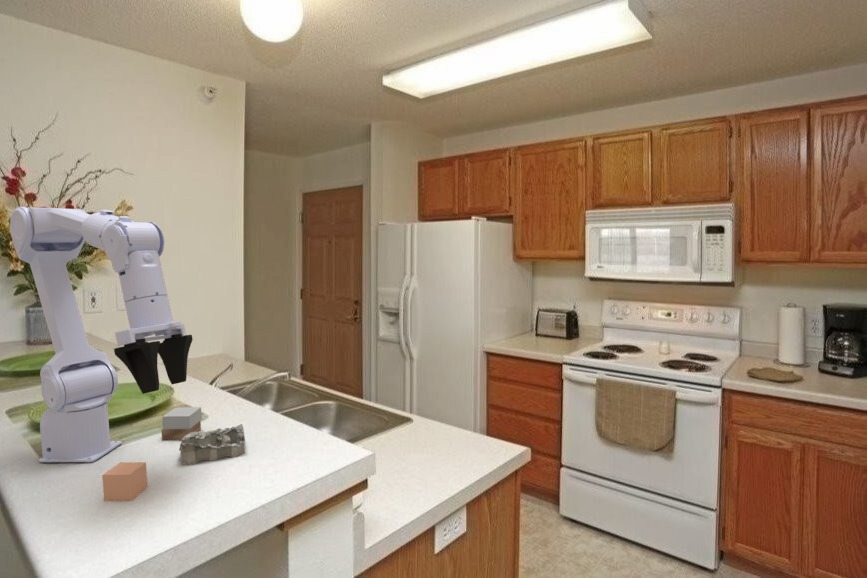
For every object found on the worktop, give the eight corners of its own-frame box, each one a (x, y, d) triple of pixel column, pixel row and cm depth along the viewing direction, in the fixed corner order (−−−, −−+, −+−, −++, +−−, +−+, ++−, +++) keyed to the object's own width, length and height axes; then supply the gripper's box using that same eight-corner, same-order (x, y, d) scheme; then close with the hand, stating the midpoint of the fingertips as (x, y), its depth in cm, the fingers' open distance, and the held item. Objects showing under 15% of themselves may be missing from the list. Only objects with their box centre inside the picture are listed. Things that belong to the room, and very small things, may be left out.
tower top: (163, 429, 92) (162, 416, 92) (176, 419, 97) (175, 407, 97) (189, 429, 93) (189, 416, 92) (201, 419, 97) (201, 407, 97)
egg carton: (177, 468, 82) (176, 445, 81) (182, 450, 89) (181, 429, 88) (246, 457, 85) (244, 435, 85) (245, 441, 92) (244, 420, 92)
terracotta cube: (104, 501, 71) (102, 474, 71) (121, 487, 75) (119, 462, 75) (131, 500, 71) (129, 474, 71) (147, 487, 75) (145, 462, 75)
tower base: (162, 442, 93) (161, 429, 92) (176, 431, 98) (175, 419, 97) (188, 442, 93) (187, 429, 92) (201, 431, 98) (200, 419, 97)
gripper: (143, 292, 67) (164, 390, 66) (196, 294, 81) (213, 373, 81) (93, 304, 67) (114, 401, 66) (154, 303, 81) (172, 383, 81)
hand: (165, 387), depth 74 cm, fingers open, 7 cm apart
